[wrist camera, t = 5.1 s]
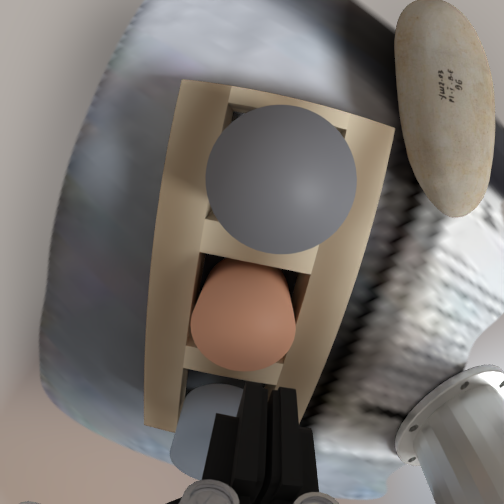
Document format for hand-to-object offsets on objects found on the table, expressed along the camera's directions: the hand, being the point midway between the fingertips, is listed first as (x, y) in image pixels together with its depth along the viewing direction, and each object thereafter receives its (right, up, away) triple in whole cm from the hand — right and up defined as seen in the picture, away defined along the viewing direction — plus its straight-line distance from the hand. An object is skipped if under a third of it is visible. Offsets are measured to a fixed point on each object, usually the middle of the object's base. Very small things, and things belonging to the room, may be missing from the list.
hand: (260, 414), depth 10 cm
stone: (+10, +14, +6) cm, 18 cm away
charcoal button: (+1, +9, +4) cm, 10 cm away
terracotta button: (-1, +3, +8) cm, 9 cm away
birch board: (-1, +3, +9) cm, 10 cm away
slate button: (-2, -4, +8) cm, 9 cm away
